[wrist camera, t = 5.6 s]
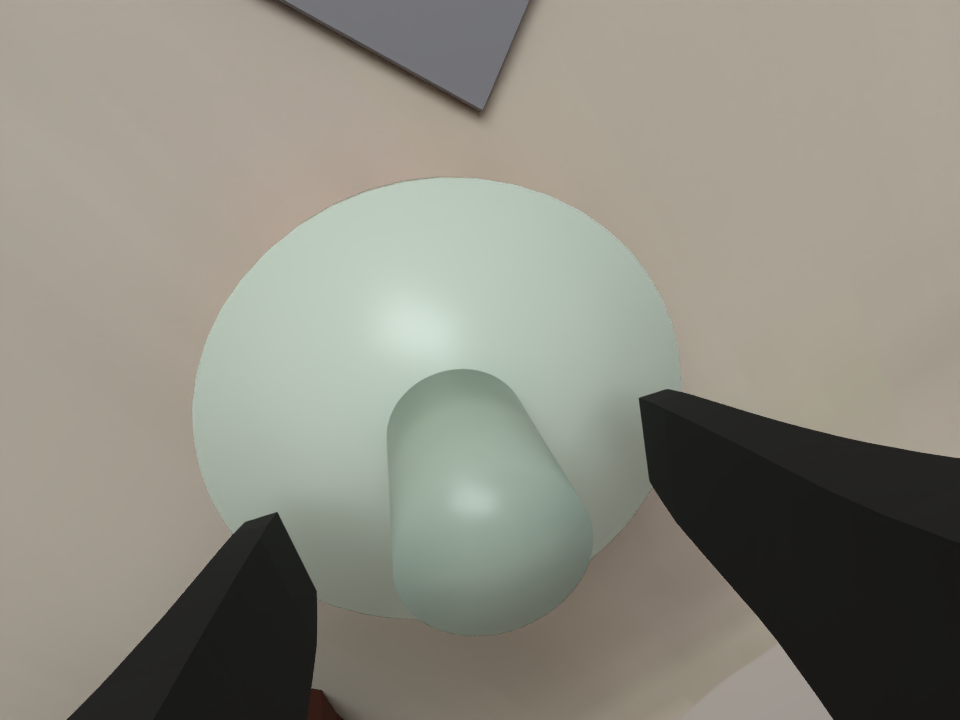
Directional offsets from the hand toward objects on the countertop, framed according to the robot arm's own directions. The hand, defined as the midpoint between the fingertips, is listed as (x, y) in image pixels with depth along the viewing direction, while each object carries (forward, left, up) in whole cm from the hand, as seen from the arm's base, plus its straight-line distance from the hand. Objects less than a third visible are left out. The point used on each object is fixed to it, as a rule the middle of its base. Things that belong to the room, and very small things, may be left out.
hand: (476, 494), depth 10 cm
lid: (0, 0, -3) cm, 3 cm away
